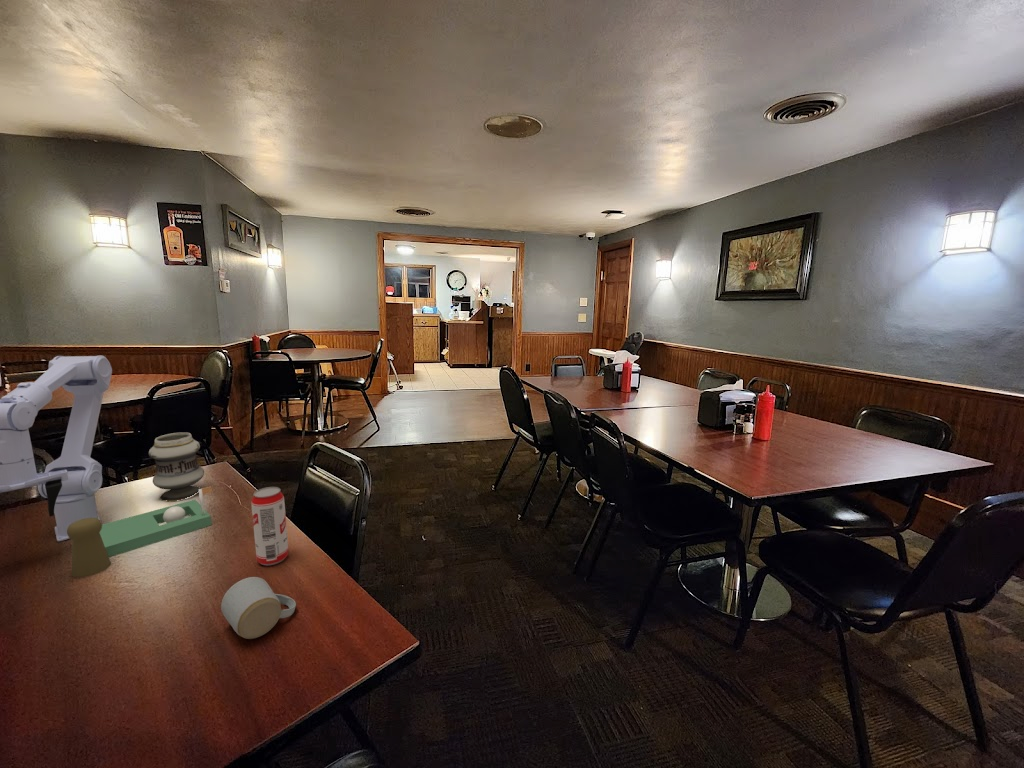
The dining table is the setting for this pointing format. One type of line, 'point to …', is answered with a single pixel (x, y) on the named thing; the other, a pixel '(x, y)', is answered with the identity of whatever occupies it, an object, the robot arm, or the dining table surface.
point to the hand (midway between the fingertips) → (25, 521)
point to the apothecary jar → (176, 465)
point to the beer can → (269, 526)
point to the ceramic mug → (254, 607)
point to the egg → (174, 514)
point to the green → (150, 528)
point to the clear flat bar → (201, 493)
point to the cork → (87, 548)
